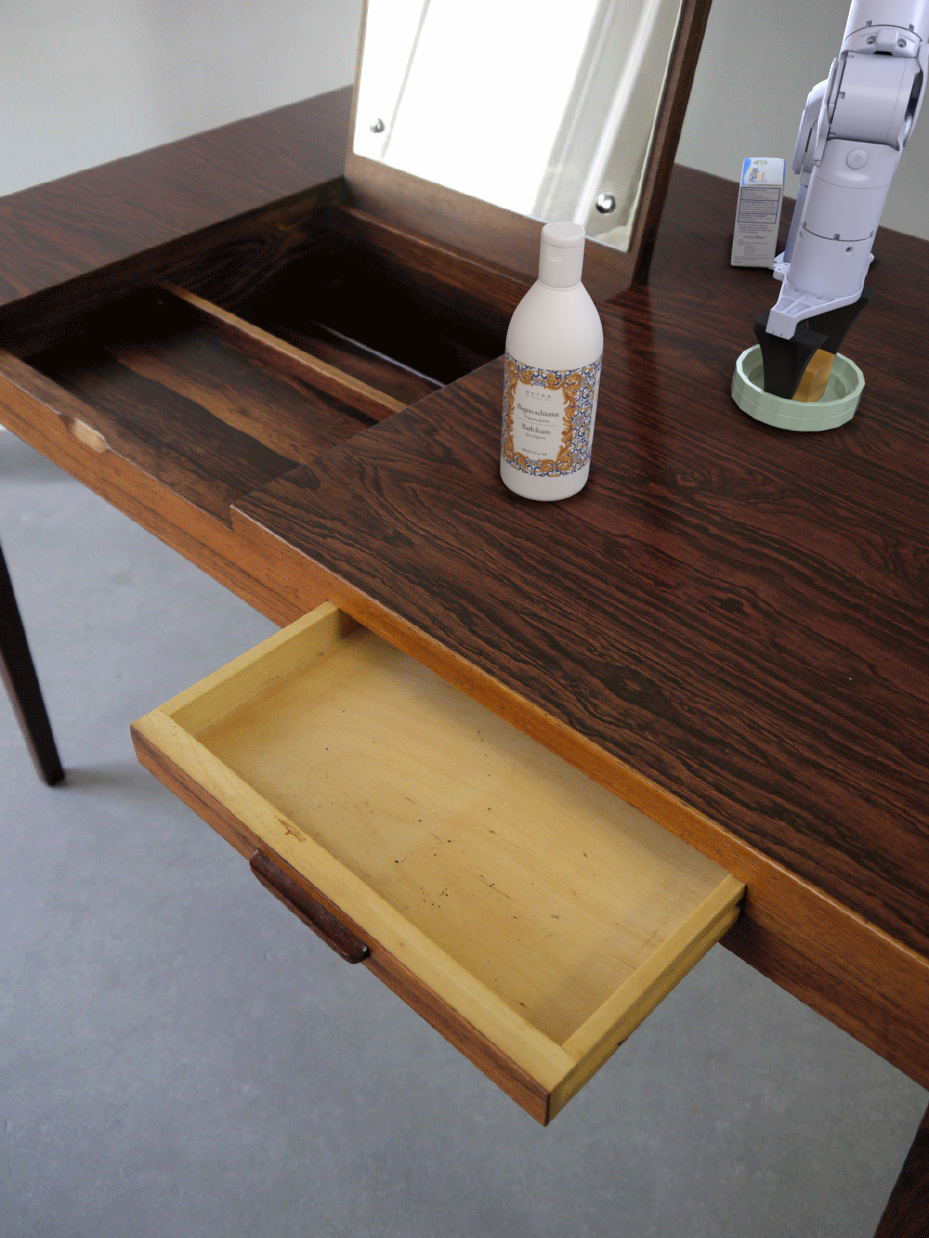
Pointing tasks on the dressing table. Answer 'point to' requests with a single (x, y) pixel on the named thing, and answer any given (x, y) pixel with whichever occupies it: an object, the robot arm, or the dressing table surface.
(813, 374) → the block
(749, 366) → the bowl
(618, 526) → the dressing table surface
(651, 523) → the dressing table surface
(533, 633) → the dressing table surface
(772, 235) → the medicine box
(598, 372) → the bath foam
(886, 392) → the dressing table surface
